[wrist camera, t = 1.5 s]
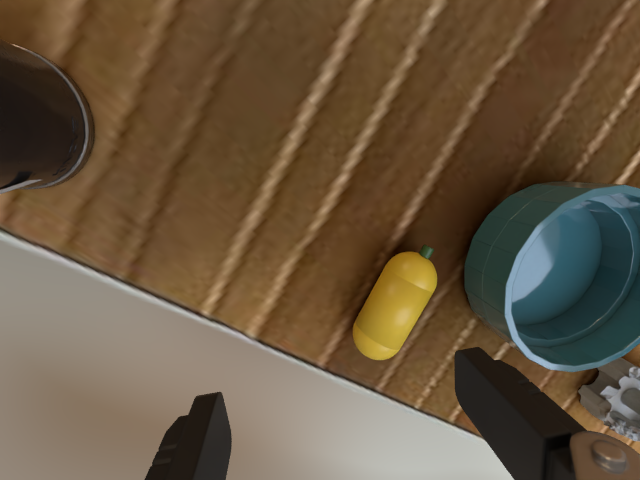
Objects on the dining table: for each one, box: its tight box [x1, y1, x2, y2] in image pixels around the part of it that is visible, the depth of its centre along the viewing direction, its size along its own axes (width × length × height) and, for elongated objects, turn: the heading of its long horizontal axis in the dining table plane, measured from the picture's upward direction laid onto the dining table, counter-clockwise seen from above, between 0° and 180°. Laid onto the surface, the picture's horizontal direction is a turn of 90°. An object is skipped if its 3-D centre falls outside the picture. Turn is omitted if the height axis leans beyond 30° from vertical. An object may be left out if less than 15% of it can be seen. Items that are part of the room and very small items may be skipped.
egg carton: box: [578, 357, 640, 441], centre depth 33 cm, size 11×8×4 cm
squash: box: [353, 245, 437, 360], centre depth 26 cm, size 11×4×4 cm, turn 153°
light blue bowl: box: [464, 181, 640, 372], centre depth 27 cm, size 15×15×6 cm
